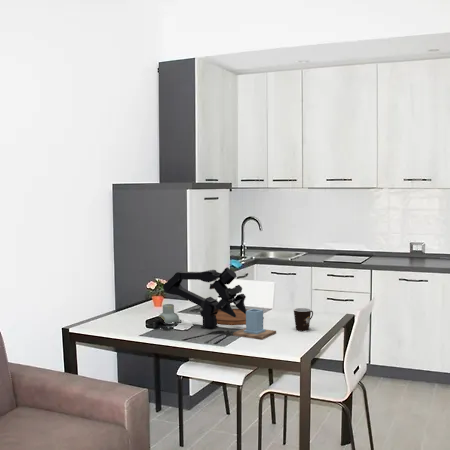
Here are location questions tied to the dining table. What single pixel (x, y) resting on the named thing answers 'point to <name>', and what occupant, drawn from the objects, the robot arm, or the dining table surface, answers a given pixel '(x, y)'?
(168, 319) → the air freshener
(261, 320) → the light blue square holder
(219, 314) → the cutting board
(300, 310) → the coffee mug
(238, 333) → the locating plate
